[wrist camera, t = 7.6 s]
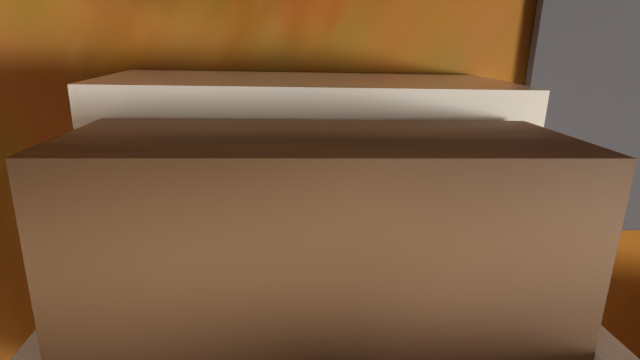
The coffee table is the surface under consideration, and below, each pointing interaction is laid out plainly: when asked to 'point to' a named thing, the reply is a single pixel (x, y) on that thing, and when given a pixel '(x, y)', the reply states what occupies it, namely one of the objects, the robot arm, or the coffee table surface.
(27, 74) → the coffee table surface
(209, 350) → the lid
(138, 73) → the dish
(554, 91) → the mat
